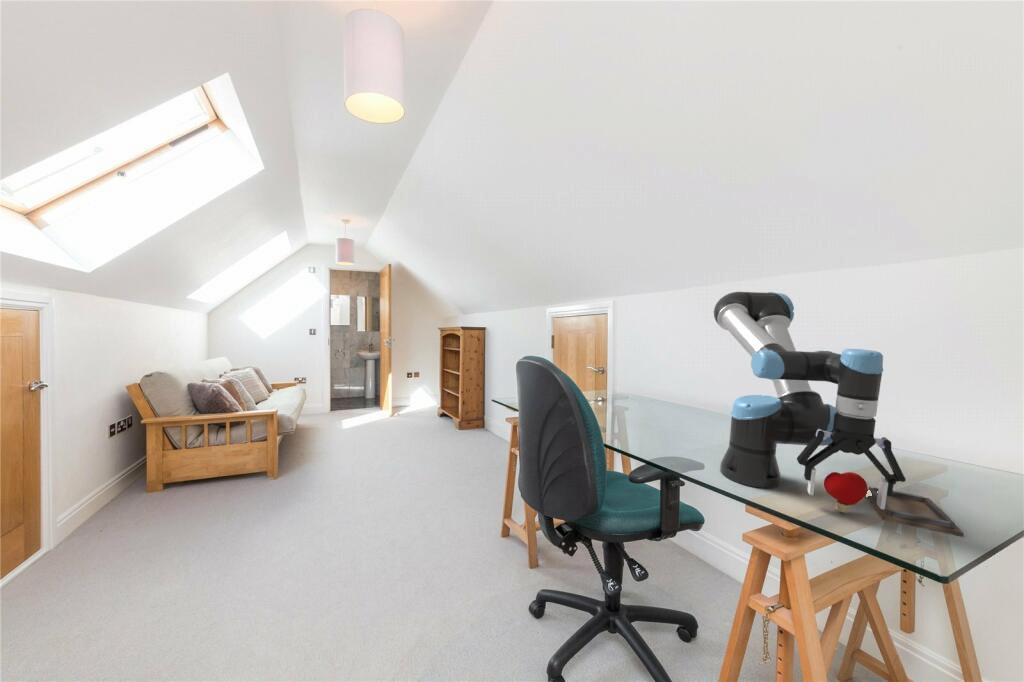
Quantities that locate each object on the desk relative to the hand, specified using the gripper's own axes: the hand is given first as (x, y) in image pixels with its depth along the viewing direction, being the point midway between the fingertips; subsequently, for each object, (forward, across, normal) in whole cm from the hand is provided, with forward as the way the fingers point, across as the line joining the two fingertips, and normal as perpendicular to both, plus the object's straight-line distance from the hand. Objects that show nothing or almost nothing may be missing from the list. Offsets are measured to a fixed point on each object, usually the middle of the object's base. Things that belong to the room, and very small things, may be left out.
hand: (844, 499), depth 99 cm
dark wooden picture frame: (+4, +15, +9) cm, 18 cm away
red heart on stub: (+4, 0, 0) cm, 4 cm away
